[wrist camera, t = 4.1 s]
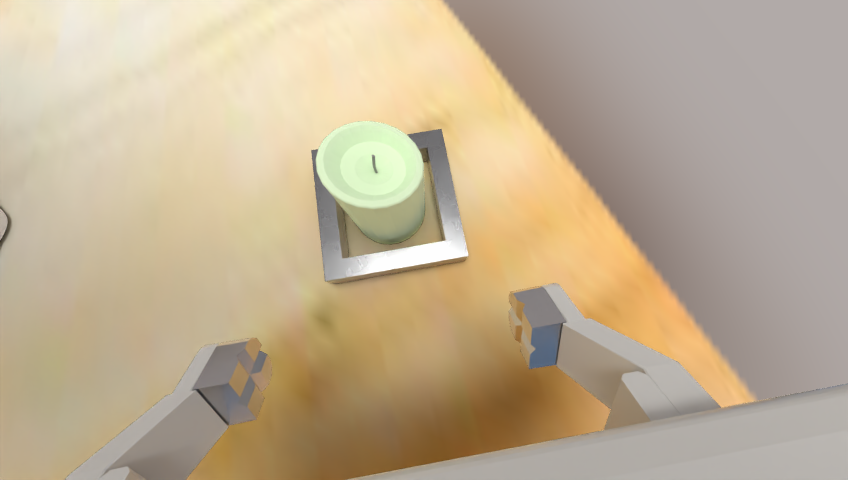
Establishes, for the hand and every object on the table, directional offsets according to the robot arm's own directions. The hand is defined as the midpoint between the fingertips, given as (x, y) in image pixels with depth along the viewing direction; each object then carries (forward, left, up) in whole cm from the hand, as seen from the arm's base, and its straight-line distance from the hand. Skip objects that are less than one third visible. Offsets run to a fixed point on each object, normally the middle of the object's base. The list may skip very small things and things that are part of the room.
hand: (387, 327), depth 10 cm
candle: (-7, +4, -11) cm, 13 cm away
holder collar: (-7, +4, -11) cm, 13 cm away
